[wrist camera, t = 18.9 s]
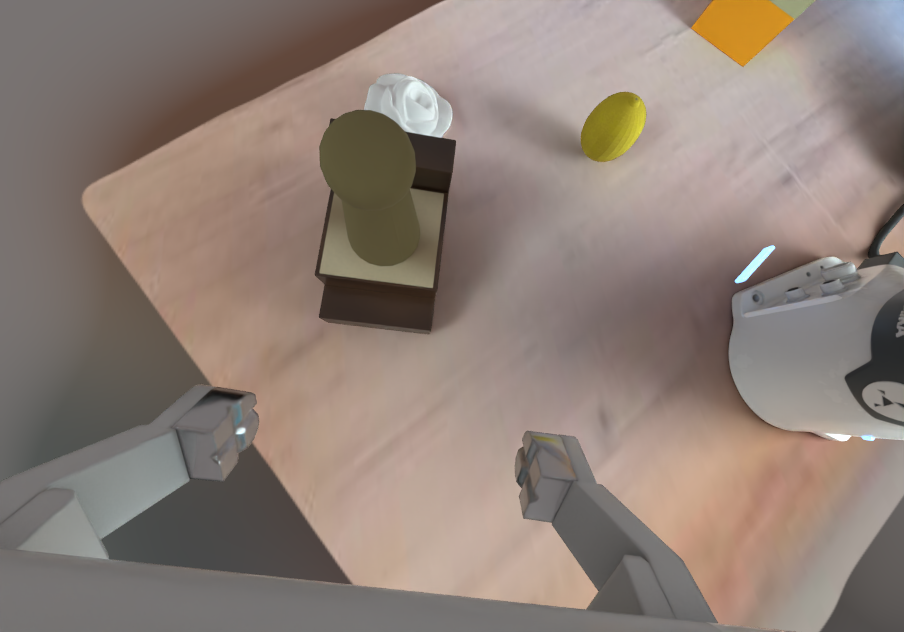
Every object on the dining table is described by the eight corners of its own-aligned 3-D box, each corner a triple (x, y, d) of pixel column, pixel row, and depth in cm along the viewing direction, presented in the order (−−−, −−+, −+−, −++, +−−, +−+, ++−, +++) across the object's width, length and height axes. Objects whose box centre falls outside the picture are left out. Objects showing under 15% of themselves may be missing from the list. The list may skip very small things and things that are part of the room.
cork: (340, 205, 27) (291, 95, 16) (411, 193, 28) (409, 81, 17) (355, 273, 26) (314, 205, 15) (427, 258, 27) (436, 184, 16)
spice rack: (429, 334, 32) (435, 321, 24) (327, 322, 31) (293, 303, 23) (445, 198, 35) (456, 139, 26) (352, 183, 34) (330, 117, 25)
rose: (338, 65, 31) (426, 33, 33) (348, 102, 36) (425, 72, 37) (388, 150, 30) (475, 112, 32) (391, 177, 35) (468, 143, 36)
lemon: (573, 176, 37) (615, 125, 29) (564, 133, 38) (603, 72, 30) (617, 174, 38) (669, 124, 30) (607, 132, 39) (656, 72, 31)
